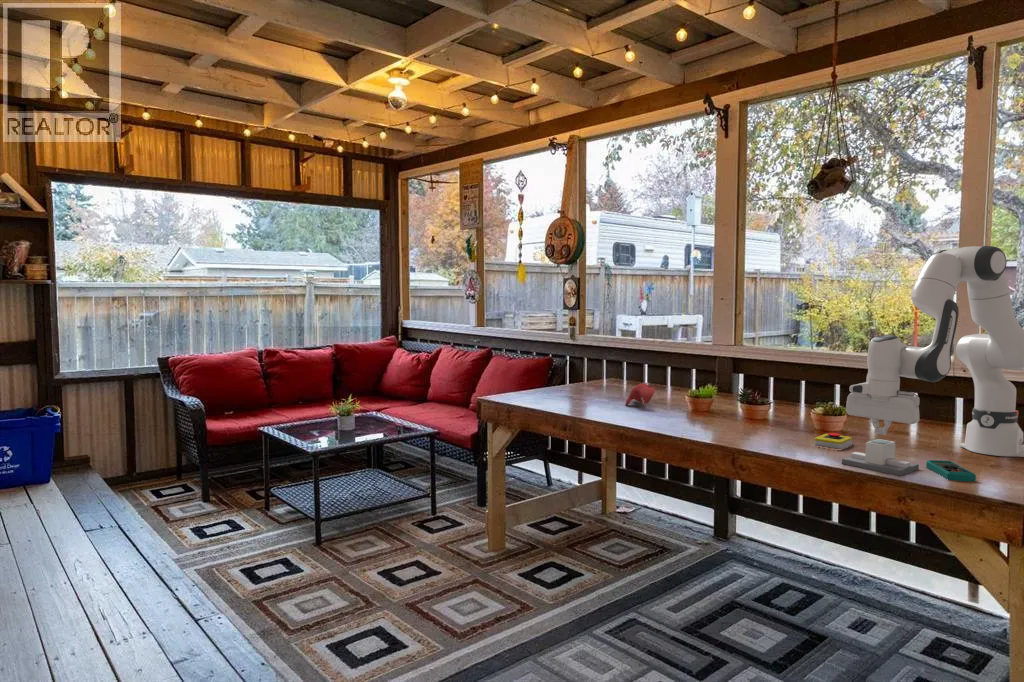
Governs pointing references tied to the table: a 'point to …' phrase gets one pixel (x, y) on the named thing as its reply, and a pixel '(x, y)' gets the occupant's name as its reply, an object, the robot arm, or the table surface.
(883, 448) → the block
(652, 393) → the decorative bird sculpture
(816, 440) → the emergency button
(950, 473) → the digital multimeter
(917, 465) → the rail board
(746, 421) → the table surface
